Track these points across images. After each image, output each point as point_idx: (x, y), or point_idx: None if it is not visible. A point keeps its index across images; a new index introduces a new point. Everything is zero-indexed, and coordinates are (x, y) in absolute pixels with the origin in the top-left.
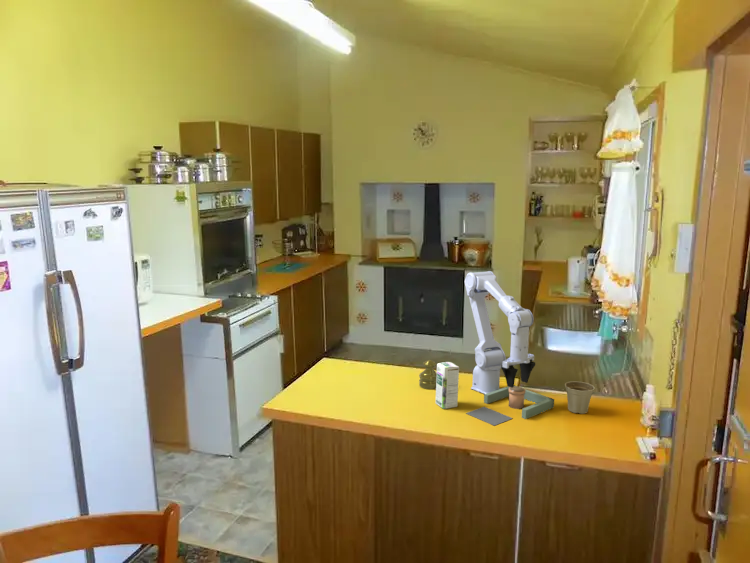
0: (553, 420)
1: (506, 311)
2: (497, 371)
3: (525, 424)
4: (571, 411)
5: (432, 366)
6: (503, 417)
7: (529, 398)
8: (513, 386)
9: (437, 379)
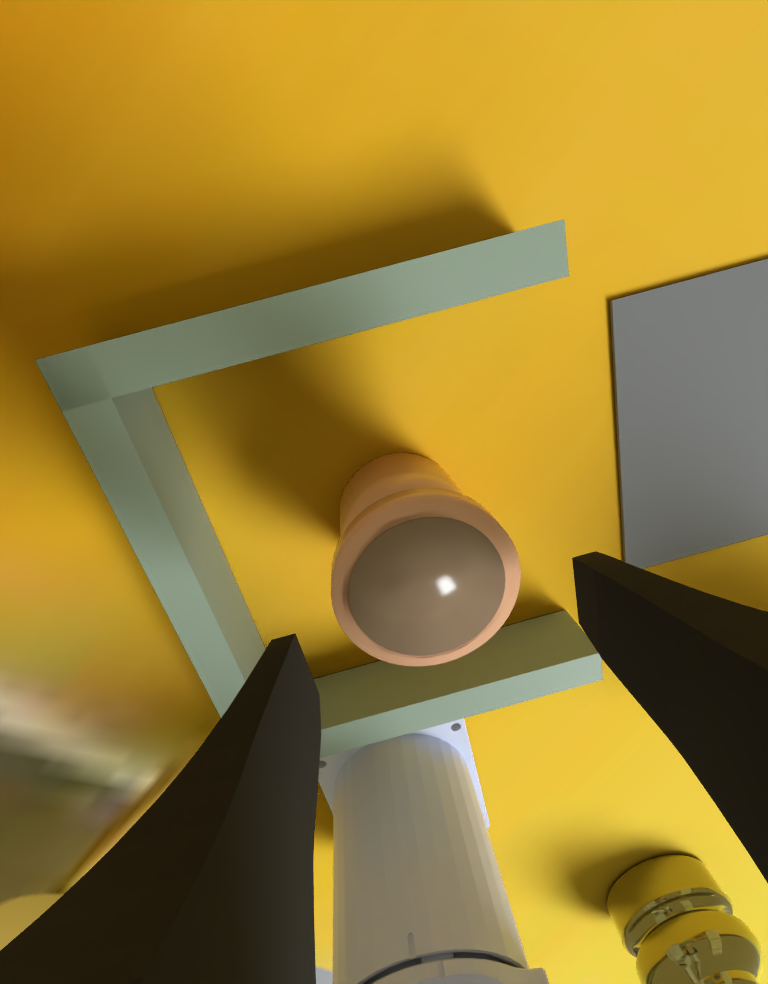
0: (288, 68)
1: None
2: (415, 941)
3: (607, 130)
4: None
5: None
6: (663, 346)
7: (223, 570)
8: (580, 559)
9: None
